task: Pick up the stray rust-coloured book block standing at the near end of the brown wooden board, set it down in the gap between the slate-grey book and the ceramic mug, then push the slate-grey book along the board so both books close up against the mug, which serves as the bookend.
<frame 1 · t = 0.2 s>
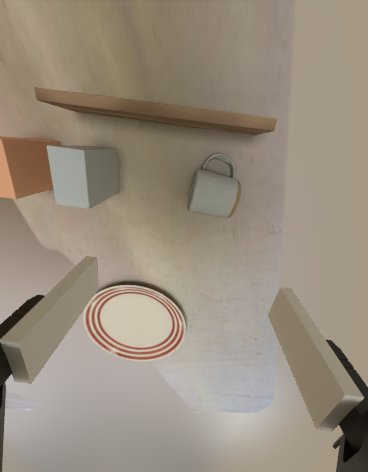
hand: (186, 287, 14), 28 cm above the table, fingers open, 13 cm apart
ceramic mug: (212, 183, 38), on the table
dinner plate: (137, 318, 55), on the table
brown wooden board: (165, 118, 34), on the table
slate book: (105, 170, 38), on the table
rust book: (50, 162, 38), on the table
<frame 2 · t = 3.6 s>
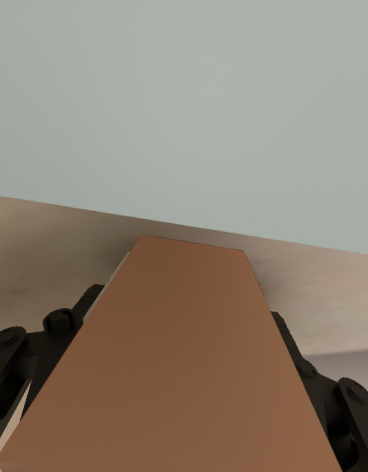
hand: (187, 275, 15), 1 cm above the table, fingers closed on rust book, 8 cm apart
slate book: (215, 116, 12), on the table
rust book: (187, 269, 16), on the table, touching gripper
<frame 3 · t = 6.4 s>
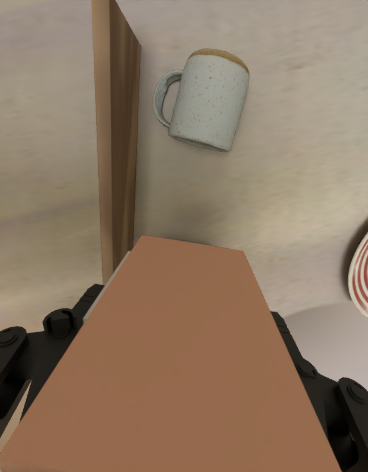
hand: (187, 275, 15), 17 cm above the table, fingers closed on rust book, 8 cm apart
ceramic mug: (196, 113, 26), on the table
brown wooden board: (130, 182, 30), on the table
rust book: (187, 269, 16), point 16 cm above the table, touching gripper
when the fingers open (2 cm above the table, at t = 9.5 s): rust book drops 1 cm, on the table.
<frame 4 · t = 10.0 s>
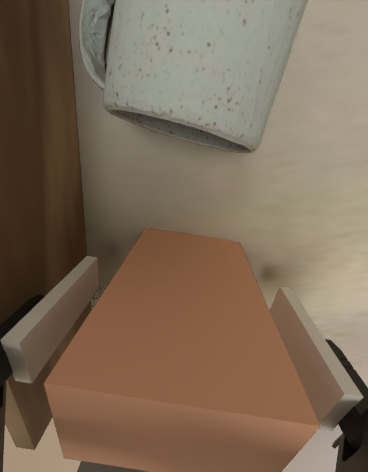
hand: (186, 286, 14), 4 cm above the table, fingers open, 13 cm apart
ceramic mug: (179, 70, 12), on the table
brown wooden board: (75, 210, 16), on the table
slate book: (176, 323, 21), on the table
rust book: (188, 259, 18), on the table
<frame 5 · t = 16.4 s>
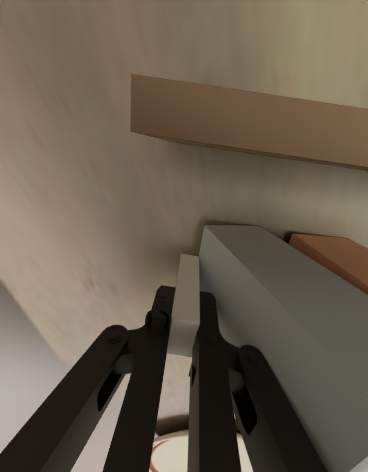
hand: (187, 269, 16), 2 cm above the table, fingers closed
dinner plate: (208, 451, 35), on the table
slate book: (222, 267, 17), point 1 cm above the table, tilted 21°, touching gripper, hand, rust book
rust book: (301, 275, 18), on the table, tilted 10°, touching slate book
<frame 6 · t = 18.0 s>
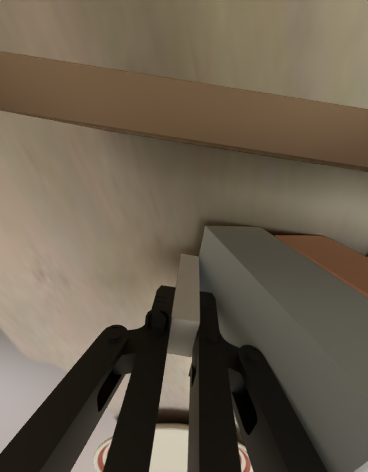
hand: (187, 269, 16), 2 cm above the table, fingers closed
dinner plate: (178, 446, 35), on the table
brown wooden board: (324, 153, 14), on the table
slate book: (222, 267, 17), point 1 cm above the table, tilted 21°, touching gripper, hand, rust book
rust book: (282, 276, 17), point 1 cm above the table, tilted 21°, touching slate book
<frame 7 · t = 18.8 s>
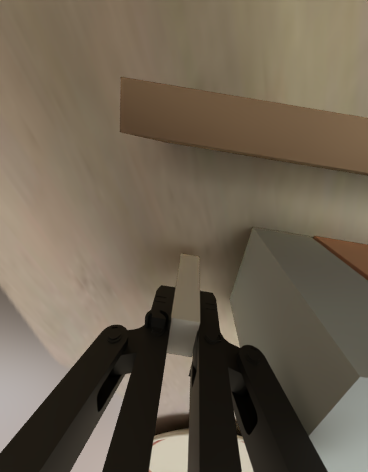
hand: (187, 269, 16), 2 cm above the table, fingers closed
dinner plate: (202, 451, 35), on the table
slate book: (266, 270, 18), on the table
rust book: (322, 278, 18), on the table
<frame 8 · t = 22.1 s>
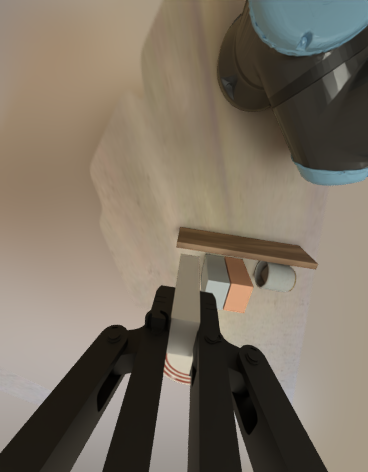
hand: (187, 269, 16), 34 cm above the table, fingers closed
ceramic mug: (270, 263, 55), on the table, touching brown wooden board
dinner plate: (194, 353, 73), on the table
brown wooden board: (239, 238, 52), on the table
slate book: (211, 267, 56), on the table
rust book: (230, 269, 56), on the table
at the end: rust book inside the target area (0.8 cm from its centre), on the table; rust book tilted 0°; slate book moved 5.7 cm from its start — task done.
